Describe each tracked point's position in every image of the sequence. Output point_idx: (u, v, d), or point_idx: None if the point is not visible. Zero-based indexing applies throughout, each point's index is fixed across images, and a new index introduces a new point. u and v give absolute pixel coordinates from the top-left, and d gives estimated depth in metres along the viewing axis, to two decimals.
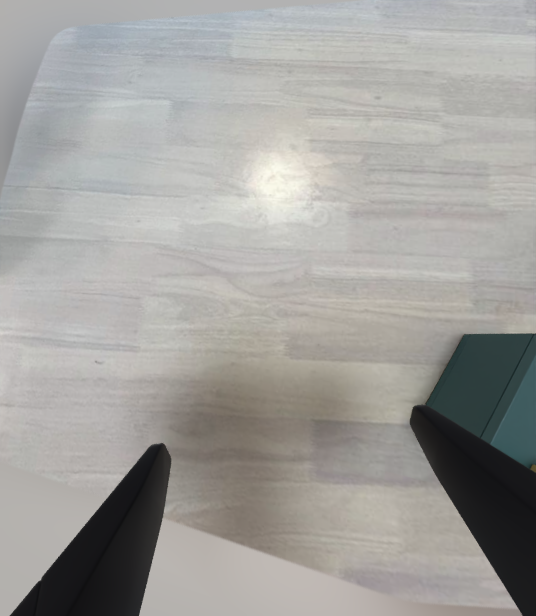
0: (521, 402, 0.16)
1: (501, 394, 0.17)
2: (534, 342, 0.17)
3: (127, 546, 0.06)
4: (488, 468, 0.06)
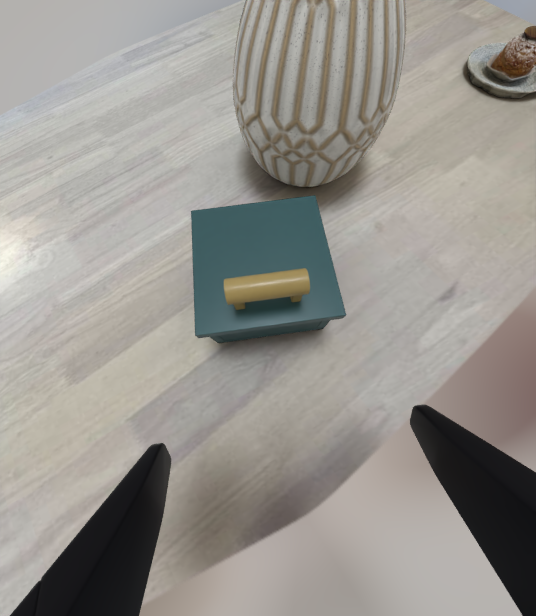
0: (200, 266, 0.18)
1: None
2: None
3: (127, 546, 0.06)
4: (488, 468, 0.06)
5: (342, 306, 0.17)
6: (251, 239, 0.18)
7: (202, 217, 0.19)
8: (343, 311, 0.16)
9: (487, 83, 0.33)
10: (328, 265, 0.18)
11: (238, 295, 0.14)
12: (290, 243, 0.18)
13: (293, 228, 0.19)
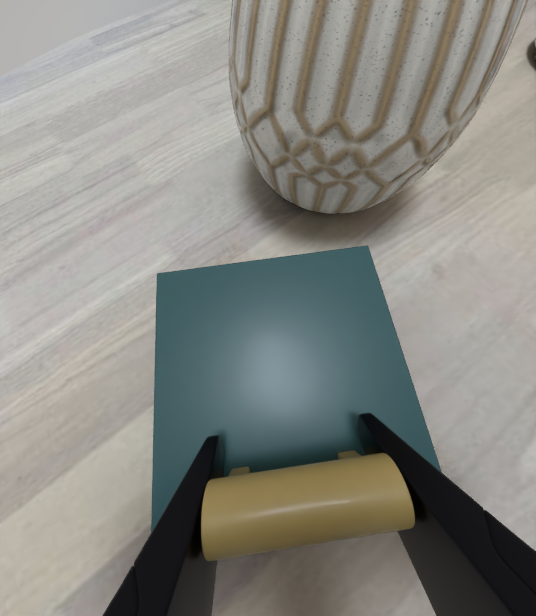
0: (168, 387, 0.10)
1: None
2: None
3: None
4: (411, 480, 0.06)
5: None
6: (261, 331, 0.10)
7: (175, 286, 0.11)
8: None
9: None
10: (404, 387, 0.09)
11: (238, 554, 0.05)
12: (331, 338, 0.10)
13: (334, 308, 0.11)
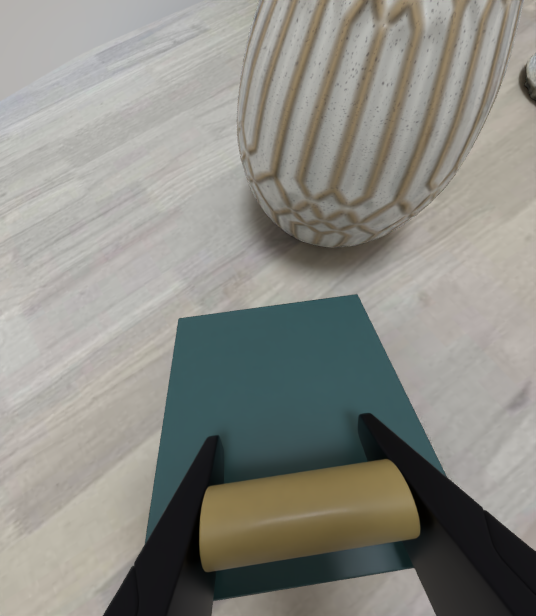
0: (177, 415, 0.10)
1: None
2: None
3: None
4: (411, 480, 0.06)
5: None
6: (266, 364, 0.11)
7: (193, 328, 0.13)
8: None
9: None
10: (407, 416, 0.10)
11: (235, 557, 0.05)
12: (330, 370, 0.11)
13: (332, 344, 0.12)
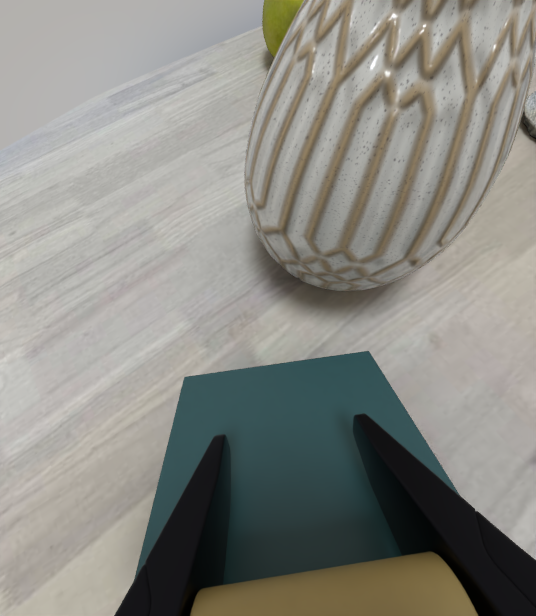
0: (171, 491, 0.09)
1: None
2: None
3: (213, 533, 0.06)
4: (404, 481, 0.06)
5: None
6: (274, 427, 0.10)
7: (198, 387, 0.12)
8: None
9: None
10: None
11: None
12: (348, 435, 0.10)
13: (347, 404, 0.11)
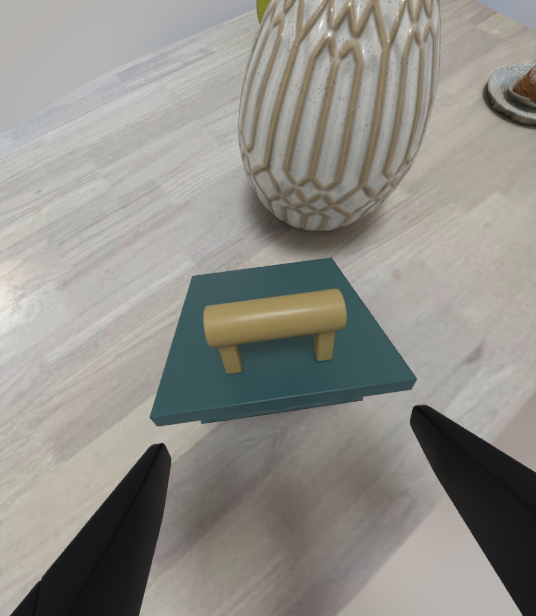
0: (187, 322, 0.13)
1: None
2: None
3: (127, 546, 0.06)
4: (488, 468, 0.06)
5: (405, 365, 0.10)
6: (258, 294, 0.15)
7: (203, 280, 0.17)
8: (410, 373, 0.09)
9: (510, 110, 0.31)
10: (364, 315, 0.12)
11: (226, 323, 0.08)
12: None
13: (309, 282, 0.15)
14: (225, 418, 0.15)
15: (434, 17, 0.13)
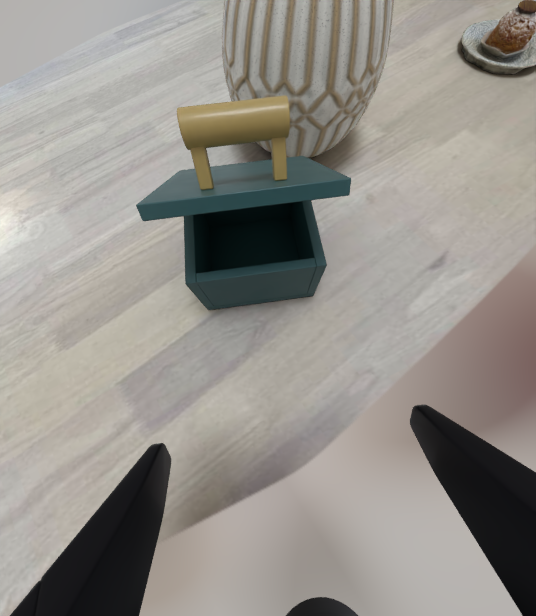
0: (172, 182, 0.15)
1: (184, 232, 0.19)
2: None
3: (127, 546, 0.06)
4: (488, 468, 0.06)
5: (344, 175, 0.12)
6: (234, 170, 0.17)
7: (188, 170, 0.19)
8: (346, 177, 0.12)
9: (481, 59, 0.33)
10: (320, 167, 0.15)
11: (194, 112, 0.10)
12: None
13: None
14: (206, 280, 0.17)
15: None
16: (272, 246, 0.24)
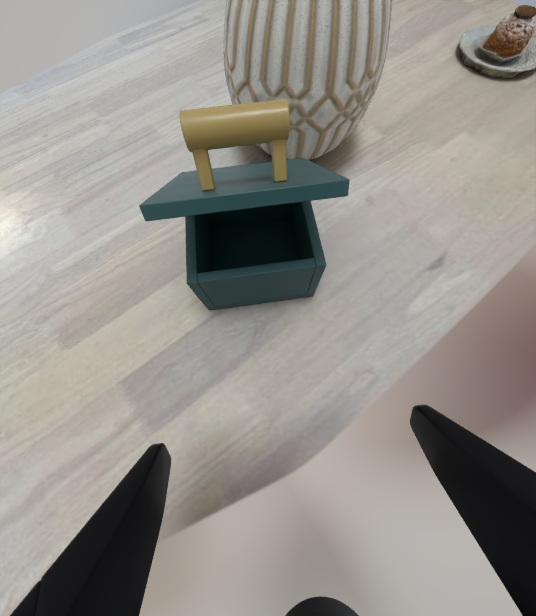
0: (174, 183, 0.16)
1: (186, 233, 0.19)
2: None
3: (127, 546, 0.06)
4: (488, 468, 0.06)
5: (343, 177, 0.12)
6: (235, 172, 0.17)
7: (190, 172, 0.19)
8: (345, 178, 0.12)
9: (479, 63, 0.34)
10: (320, 168, 0.15)
11: (196, 115, 0.11)
12: None
13: None
14: (207, 279, 0.17)
15: None
16: (272, 247, 0.25)
